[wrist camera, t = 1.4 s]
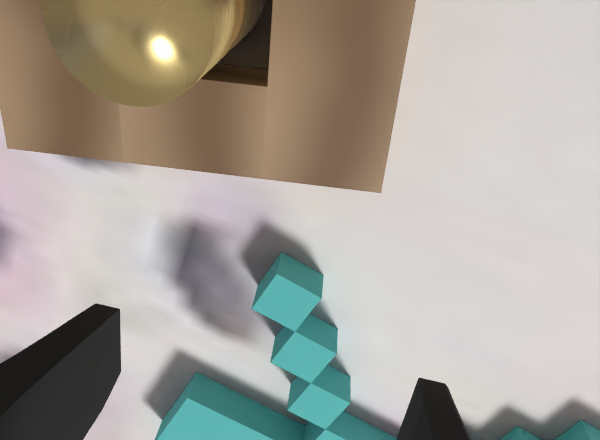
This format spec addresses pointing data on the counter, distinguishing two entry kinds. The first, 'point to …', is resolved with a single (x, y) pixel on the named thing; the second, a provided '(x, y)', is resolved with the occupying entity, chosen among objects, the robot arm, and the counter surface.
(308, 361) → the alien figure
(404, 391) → the counter surface
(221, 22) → the pin
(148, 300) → the counter surface
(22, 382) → the robot arm
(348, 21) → the socket block
